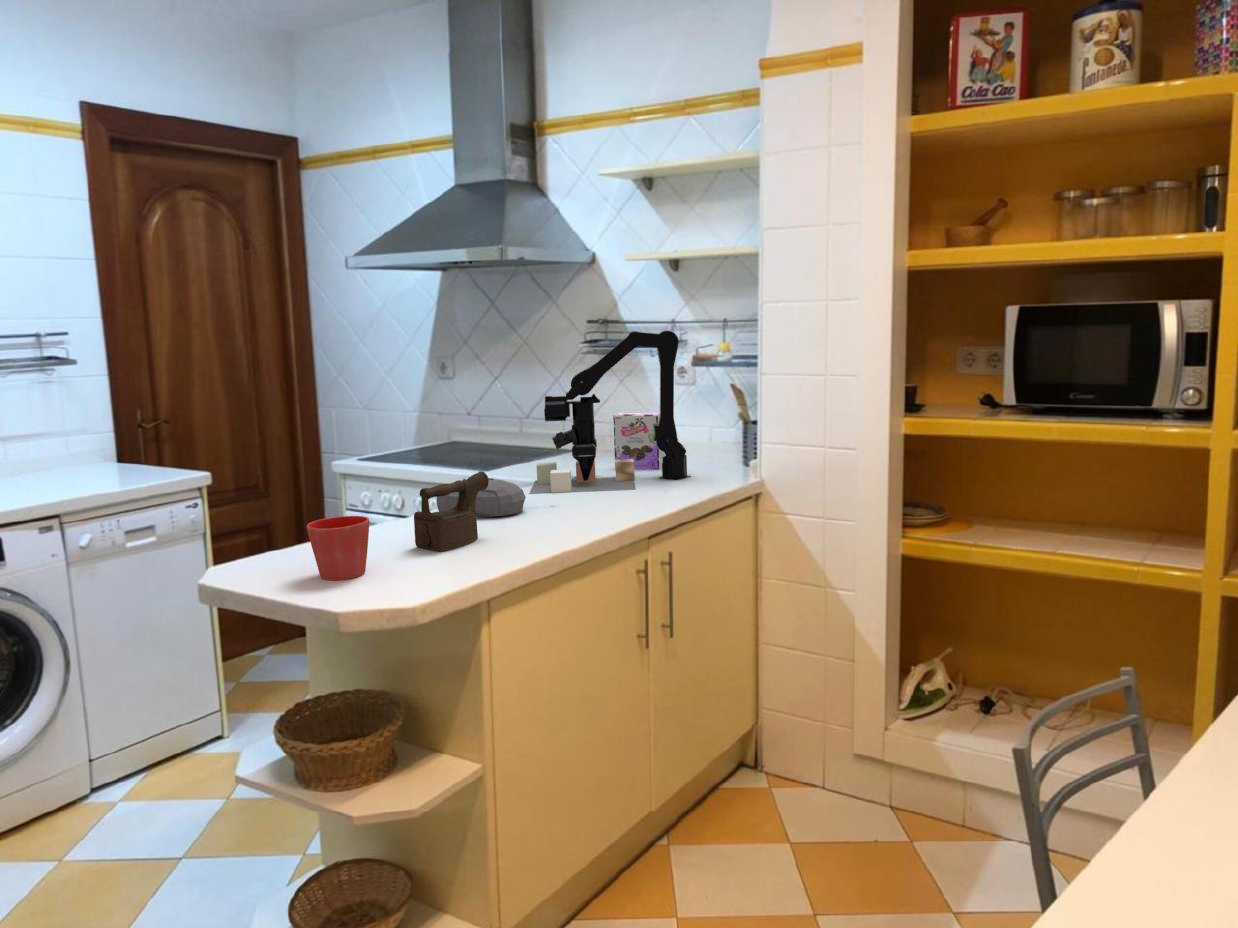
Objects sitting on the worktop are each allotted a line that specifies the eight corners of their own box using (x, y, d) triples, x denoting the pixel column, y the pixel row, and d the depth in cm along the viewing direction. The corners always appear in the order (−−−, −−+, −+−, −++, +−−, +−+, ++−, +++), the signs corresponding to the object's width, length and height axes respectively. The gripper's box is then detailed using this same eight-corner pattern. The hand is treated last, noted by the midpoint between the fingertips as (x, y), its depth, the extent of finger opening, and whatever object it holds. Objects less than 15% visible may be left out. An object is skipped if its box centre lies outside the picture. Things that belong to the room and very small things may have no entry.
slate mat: (633, 478, 263) (633, 476, 263) (635, 491, 242) (635, 489, 242) (535, 482, 263) (535, 480, 263) (529, 495, 242) (528, 493, 242)
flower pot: (297, 581, 167) (292, 526, 166) (337, 565, 177) (332, 514, 176) (348, 584, 163) (343, 529, 162) (385, 568, 173) (381, 516, 172)
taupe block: (571, 488, 247) (570, 469, 247) (570, 491, 243) (569, 472, 242) (552, 489, 247) (551, 470, 247) (551, 492, 242) (550, 473, 242)
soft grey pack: (430, 518, 219) (508, 521, 212) (427, 482, 218) (506, 484, 211) (462, 505, 233) (537, 508, 226) (460, 472, 232) (535, 473, 225)
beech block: (634, 477, 261) (633, 459, 261) (634, 480, 256) (633, 461, 256) (615, 478, 261) (615, 459, 261) (615, 480, 256) (615, 462, 256)
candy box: (614, 470, 278) (612, 414, 276) (621, 467, 283) (619, 412, 281) (659, 471, 273) (657, 414, 270) (666, 468, 278) (664, 412, 276)
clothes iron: (500, 537, 196) (496, 472, 194) (437, 553, 184) (433, 484, 182) (475, 533, 201) (471, 469, 199) (412, 548, 189) (408, 481, 187)
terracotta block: (595, 478, 261) (594, 460, 261) (595, 481, 256) (594, 463, 256) (577, 479, 261) (576, 461, 261) (576, 482, 256) (575, 464, 256)
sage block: (557, 480, 261) (556, 462, 261) (556, 483, 256) (555, 464, 256) (538, 481, 261) (537, 462, 261) (537, 484, 256) (536, 465, 256)
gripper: (555, 418, 266) (558, 473, 268) (551, 425, 247) (554, 484, 249) (595, 416, 266) (597, 471, 268) (594, 423, 247) (597, 482, 249)
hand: (586, 477), depth 259 cm, fingers open, 9 cm apart
